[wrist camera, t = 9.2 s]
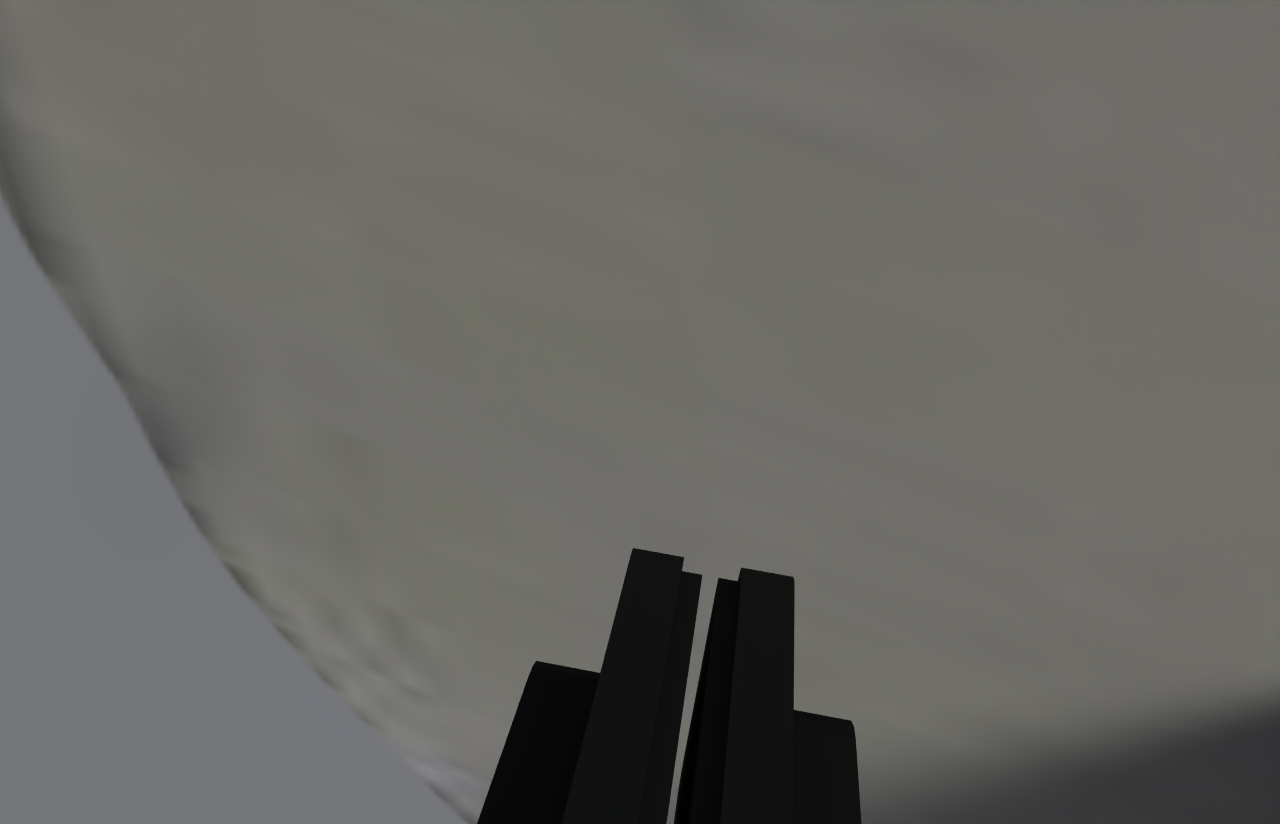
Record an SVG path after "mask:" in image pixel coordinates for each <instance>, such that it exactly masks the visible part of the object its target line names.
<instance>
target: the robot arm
mask: <svg viewBox="0 0 1280 824" xmlns="http://www.w3.org/2000/svg"><path fill="white" fill-rule="evenodd" d="M683 561H684V557H680V556H674V555H669V554H663V553H658V552H652V551H647V550H641V549H635V548H633V550H632V553H631V556H630V560H629V564H628V568H627V572H626V576H625V580H624V584H623V587H622V591H621V595H620V599H619V603H618V607H617V611H616V615H615V618H614V622H613V626H612V630H611V634H610V638H609V642H608V646H607V649H606V653H605V657H604V661H603V665H602V669H601V673H597V672H592V671H587V670H581V669H576V668H571V667H565V666H560V665H555V664H550V663H544V662H539V661H536V662H535V664H534V665H533V667H532V669H531V672H530V674H529V677H528V679H527V682H526V685H525V688H524V691H523V694H522V697H521V699H520V702H519V705H518V708H517V711H516V714H515V717H514V719H513V722H512V725H511V728H510V731H509V734H508V737H507V740H506V742H505V745H504V748H503V751H502V754H501V757H500V760H499V762H498V765H497V768H496V771H495V774H494V777H493V780H492V782H491V785H490V788H489V791H488V794H487V797H486V800H485V803H484V805H483V808H482V811H481V814H480V817H479V820H478V823H477V824H666V822H667V816H668V809H669V802H670V795H671V788H672V781H673V774H674V767H675V760H676V753H677V746H678V739H679V732H680V726H681V719H682V712H683V705H684V698H685V691H686V684H687V677H688V670H689V663H690V656H691V649H692V642H693V636H694V629H695V622H696V615H697V608H698V601H699V594H700V587H701V580H702V575H700V574H695V573H689V572H684V571H682V567H683ZM674 824H861V812H860V797H859V781H858V766H857V751H856V738H855V731H854V726H853V724H852V722H851V721H850V720H844V719H839V718H834V717H828V716H823V715H818V714H813V713H807V712H802V711H797V710H794V578H793V577H790V576H785V575H779V574H774V573H768V572H763V571H757V570H752V569H746V568H741V570H740V574H739V578H738V581H733V580H728V579H722V578H719V579H718V583H717V588H716V593H715V598H714V603H713V608H712V614H711V619H710V624H709V629H708V635H707V640H706V645H705V650H704V656H703V661H702V666H701V671H700V677H699V682H698V687H697V692H696V698H695V703H694V708H693V713H692V719H691V724H690V729H689V734H688V739H687V745H686V750H685V755H684V760H683V766H682V772H681V778H680V784H679V790H678V797H677V804H676V811H675V819H674Z"/></svg>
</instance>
